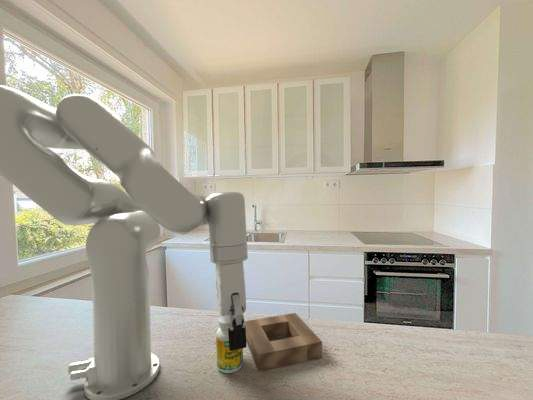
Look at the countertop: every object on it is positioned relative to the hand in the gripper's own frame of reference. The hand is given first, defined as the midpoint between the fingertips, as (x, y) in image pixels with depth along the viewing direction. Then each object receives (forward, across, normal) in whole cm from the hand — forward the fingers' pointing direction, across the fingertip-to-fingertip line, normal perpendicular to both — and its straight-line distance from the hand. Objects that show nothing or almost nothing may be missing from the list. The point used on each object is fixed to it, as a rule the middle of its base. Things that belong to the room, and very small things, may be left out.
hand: (233, 335), depth 51 cm
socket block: (+6, -3, +11) cm, 13 cm away
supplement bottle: (+6, 0, -1) cm, 6 cm away
